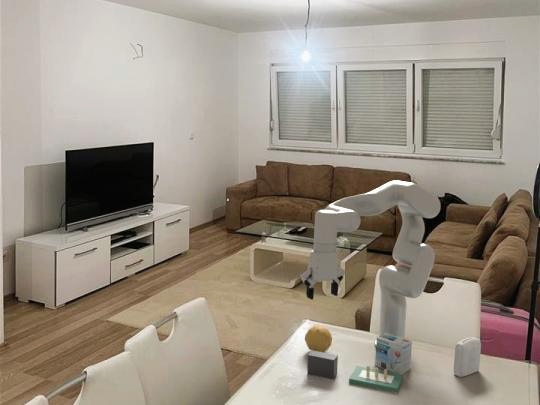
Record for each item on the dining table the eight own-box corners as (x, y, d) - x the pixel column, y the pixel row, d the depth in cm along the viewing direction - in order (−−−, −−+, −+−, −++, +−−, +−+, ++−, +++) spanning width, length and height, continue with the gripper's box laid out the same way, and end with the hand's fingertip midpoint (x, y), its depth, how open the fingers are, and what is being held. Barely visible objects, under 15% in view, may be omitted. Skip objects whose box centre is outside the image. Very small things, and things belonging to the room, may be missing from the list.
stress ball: (318, 347, 218) (299, 332, 216) (336, 330, 215) (316, 315, 213) (320, 363, 208) (300, 347, 206) (338, 345, 206) (318, 330, 204)
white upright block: (470, 366, 201) (473, 333, 199) (481, 371, 198) (483, 337, 195) (451, 373, 196) (453, 339, 193) (461, 378, 192) (464, 344, 190)
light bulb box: (374, 366, 201) (375, 337, 199) (384, 359, 206) (386, 331, 204) (401, 376, 194) (402, 346, 192) (411, 369, 199) (412, 340, 197)
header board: (356, 369, 198) (357, 357, 197) (403, 379, 191) (403, 366, 191) (348, 382, 189) (349, 369, 188) (397, 392, 182) (398, 379, 182)
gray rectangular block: (311, 369, 198) (311, 350, 197) (337, 374, 194) (337, 355, 193) (307, 374, 195) (307, 354, 193) (333, 379, 191) (334, 360, 190)
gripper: (339, 242, 196) (336, 290, 199) (296, 246, 188) (294, 296, 191) (352, 247, 190) (349, 296, 192) (308, 251, 181) (306, 303, 184)
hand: (322, 296), depth 191 cm, fingers open, 9 cm apart
